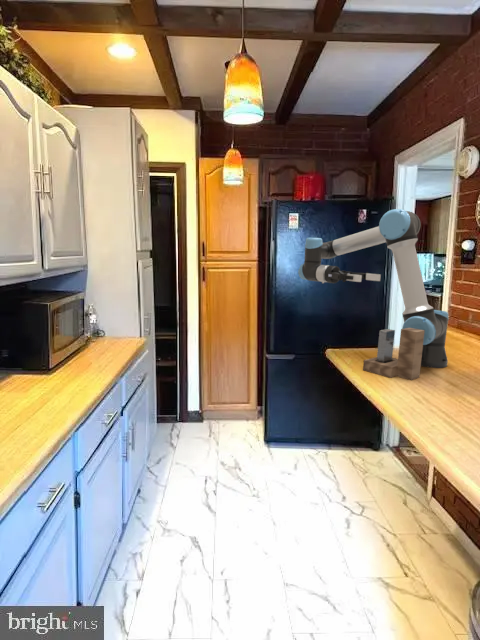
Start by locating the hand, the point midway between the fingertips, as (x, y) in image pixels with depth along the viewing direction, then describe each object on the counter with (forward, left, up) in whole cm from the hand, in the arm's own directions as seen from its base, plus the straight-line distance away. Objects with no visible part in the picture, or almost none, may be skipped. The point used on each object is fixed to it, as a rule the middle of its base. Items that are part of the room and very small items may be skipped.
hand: (370, 278), depth 178 cm
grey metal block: (-5, +11, -35) cm, 37 cm away
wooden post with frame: (-8, +14, -35) cm, 39 cm away
